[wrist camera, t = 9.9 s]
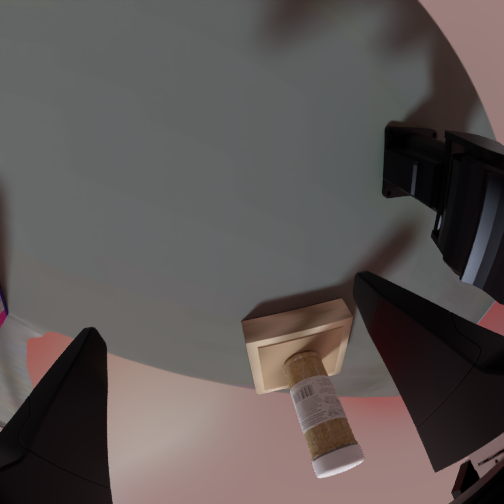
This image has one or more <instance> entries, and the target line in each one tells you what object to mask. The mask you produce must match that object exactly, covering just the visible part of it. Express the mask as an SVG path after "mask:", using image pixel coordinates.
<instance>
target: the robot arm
mask: <svg viewBox="0 0 504 504" xmlns="http://www.w3.org/2000/svg"><path fill="white" fill-rule="evenodd" d="M390 131H391V134H390ZM432 135H433V136H432ZM445 138H446V142H443V141H440V140H437V132H436V131H435V130H432V129H422V128H409V127H392V126H389V127H387V128H386V129H385V147H384V168H383V186H382V194H383V196H384V197H386V198H394V197H402V196H412V197H414V198H415V199H417V200H419V201H420V202H422V203H423V204H425V205H426V206H428V207H429V208H431V209H432V210H434V211H435V212H437V215H436V220H435V225H434V230H432V234H431V238H432V239H433V241H434V242H435V244H436V245H437V247H438V248H439V250H440V252H441V253H442V255H443V260H444V262H445V263H446V264H447V265H448V266H449V267H450V268H451V269H452V270H453V271H454V272H455V274H457V275H459V276H460V278H459V279H460V280H461V281H463V282H466V283H469V284H472V285H474V286H476V287H478V288H480V289H482V290H483V291H485V292H486V293H487V294H489V295H490V296H491V297H492V298H494V299H495V300H496V301H497V302H498V303H500V304H503V305H504V146H503V145H502V144H500V143H499V142H497V141H494V140H491V139H489V138H486V137H483V136H480V135H476V134H470V133H463V132H455V131H447V130H445ZM387 191H388V193H387ZM353 297H354V300H355V302H356V304H357V307H358V309H359V311H360V314H361V316H362V318H363V321H364V323H365V326H366V328H367V330H368V333H369V335H370V337H371V339H372V340H373V342H374V344H375V346H376V348H377V350H378V352H379V353H380V355H381V357H382V359H383V361H384V363H385V365H386V367H387V369H388V371H389V373H390V375H391V377H392V379H393V381H394V383H395V385H396V387H397V389H398V391H399V393H400V395H401V397H402V399H403V401H404V403H405V405H406V407H407V409H408V411H409V413H410V415H411V418H412V420H413V422H414V424H415V426H416V428H417V431H418V434H419V436H420V438H421V441H422V443H423V445H424V447H425V450H426V452H427V455H428V457H429V459H430V462H431V464H432V467H433V469H434V471H435V472H438V471H440V470H442V469H444V468H446V467H448V466H450V465H452V464H454V463H456V462H457V461H459V460H461V459H463V458H465V457H466V456H469V459H468V460H466V461H465V462H464V463H463V464H462V465H461V466H460V469H459V472H458V475H457V479H456V481H455V485H454V487H453V489H452V492H451V493H452V495H453V498H454V500H453V501H452V502H450V503H449V504H504V336H502V335H500V334H498V333H495V332H493V331H491V330H488V329H486V328H483V327H481V326H479V325H477V324H474V323H472V322H470V321H468V320H466V319H464V318H462V317H460V316H458V315H456V314H454V313H452V312H450V311H448V310H446V309H444V308H442V307H440V306H438V305H437V304H435V303H433V302H431V301H429V300H427V299H425V298H423V297H421V296H419V295H417V294H415V293H413V292H411V291H408V290H406V289H404V288H402V287H400V286H398V285H396V284H394V283H392V282H390V281H388V280H386V279H384V278H382V277H380V276H377V275H375V274H373V273H371V272H369V271H362V272H359V273H357V274H356V275H355V279H354V286H353ZM107 395H108V376H107V346H106V343H105V341H104V340H103V338H102V337H101V335H100V334H99V332H98V331H97V329H96V328H94V327H88V328H84V329H83V330H82V331H81V332H80V333H79V334H78V336H77V337H76V338H75V339H74V340H73V341H72V342H71V344H70V345H69V346H68V347H67V348H66V350H65V351H64V352H63V353H62V354H61V356H60V357H59V358H58V359H57V360H56V362H55V363H54V364H53V365H52V367H51V368H50V369H49V370H48V372H47V373H46V374H45V375H44V376H43V378H42V379H41V380H40V382H39V383H38V384H37V385H36V387H35V388H34V389H33V391H32V392H31V393H30V396H28V397H27V399H26V400H25V401H24V403H23V404H22V405H21V407H20V408H19V409H18V411H17V412H16V413H15V415H14V416H13V417H12V418H11V420H10V421H9V422H8V423H7V424H6V426H5V427H4V428H3V429H2V431H1V432H0V504H113V502H112V495H111V489H110V478H109V467H108V450H107V449H108V448H107Z"/></svg>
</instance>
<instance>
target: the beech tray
mask: <svg viewBox="0 0 504 504" xmlns="http://www.w3.org/2000/svg"><path fill="white" fill-rule="evenodd" d="M352 320H353V316H352V314H351V312H350V311H349V309H348V307H347V306H346V304H345V303H344V301H343V299H342V298H340V299H336V300H332V301H328V302H324V303H320V304H316V305H312V306H308V307H304V308H300V309H296V310H291V311H287V312H283V313H278V314H274V315H269V316H265V317H260V318H255V319H250V320H245V321H241V323H242V327H243V332H244V337H245V342H246V346H247V351H248V356H249V360H250V365H251V369H252V374H253V378H254V383H255V387H256V392H257V395H258V394H263V393H267V392H272V391H276V390H281V389H285V388H289V385H288V382H287V379H286V376H285V375H284V373H283V365H284V364H285V363H286V362H287V361H288V360H289V359H290V358H291V357H293V356H295V355H297V354H299V353H303V352H310V351H312V352H316V353H318V354H319V355H320V356H321V358H322V363H323V365H324V367H325V369H326V372H327V374H328V376H331V375H335V374H338V373H340V370H341V367H342V363H343V359H344V355H345V351H346V347H347V343H348V339H349V334H350V330H351V325H352Z"/></svg>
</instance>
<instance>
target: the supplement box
mask: <svg viewBox="0 0 504 504" xmlns="http://www.w3.org/2000/svg"><path fill="white" fill-rule="evenodd" d="M7 315H8V311H7V308H6V305H5V301H4V298H3V295H2V291H1V287H0V327H1V326H2V324H3V322H4V320H5V318H6V317H7Z"/></svg>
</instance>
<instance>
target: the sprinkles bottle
mask: <svg viewBox="0 0 504 504" xmlns="http://www.w3.org/2000/svg"><path fill="white" fill-rule="evenodd" d="M283 373H284V375H285V376H286V379H287V382H288V385H289V388H290V393H291V396H292V400H293V403H294V406H295V409H296V412H297V416H298V419H299V422H300V425H301V428H302V431H303V433H304V435H305V437H306V441H307V443H308V447H309V450H310V452H311V455H312V461H313V462H312V465H313V468H314V471H315V473H316V476H317V477H318V478H323V477H328V476H332V475H335V474H338V473H341V472H344V471H346V470H349V469H351V468H352V467H355V466H357V465H358V464H360V463H362V462H363V461H364V459H365V458H364V454H363V452H362V449H361V447H360V445H359V444H358V442H357V441H356V440H355V438H354V435H353V433H352V430H351V428H350V426H349V423H348V421H347V417H346V415H345V412H344V410H343V408H342V405H341V403H340V400H339V398H338V396H337V394H336V391H335V389H334V386H333V384H332V382H331V379H330V378H329V376H328V374H327V372H326V369H325V367H324V365H323V363H322V358H321V356H320V355H319V354H318V353H316V352H312V351H310V352H303V353H299V354H297V355H295V356H293V357H291V358H290V359H289V360H288V361H287V362H286V363H285V364H284V365H283Z"/></svg>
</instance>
